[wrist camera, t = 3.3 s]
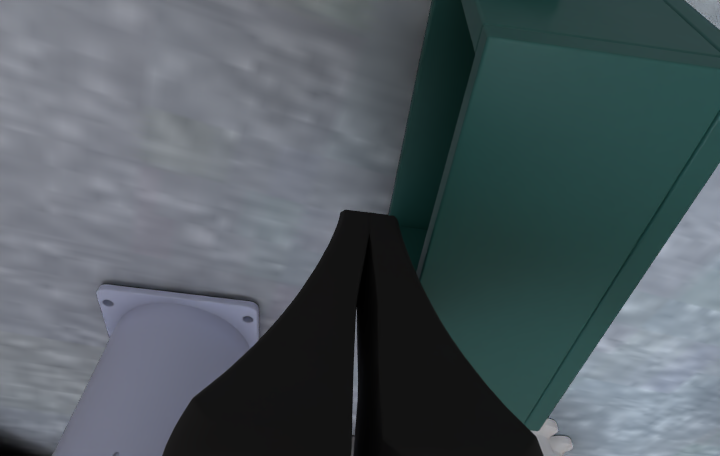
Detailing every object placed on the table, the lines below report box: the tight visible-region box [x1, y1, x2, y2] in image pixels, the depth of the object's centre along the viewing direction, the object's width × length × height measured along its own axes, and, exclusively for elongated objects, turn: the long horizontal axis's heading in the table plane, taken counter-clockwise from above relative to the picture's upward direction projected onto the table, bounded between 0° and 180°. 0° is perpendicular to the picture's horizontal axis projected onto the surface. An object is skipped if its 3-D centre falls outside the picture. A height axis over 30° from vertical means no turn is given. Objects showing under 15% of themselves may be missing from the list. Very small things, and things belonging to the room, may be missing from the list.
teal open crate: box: [388, 0, 720, 431], centre depth 16 cm, size 13×5×9 cm, turn 173°
